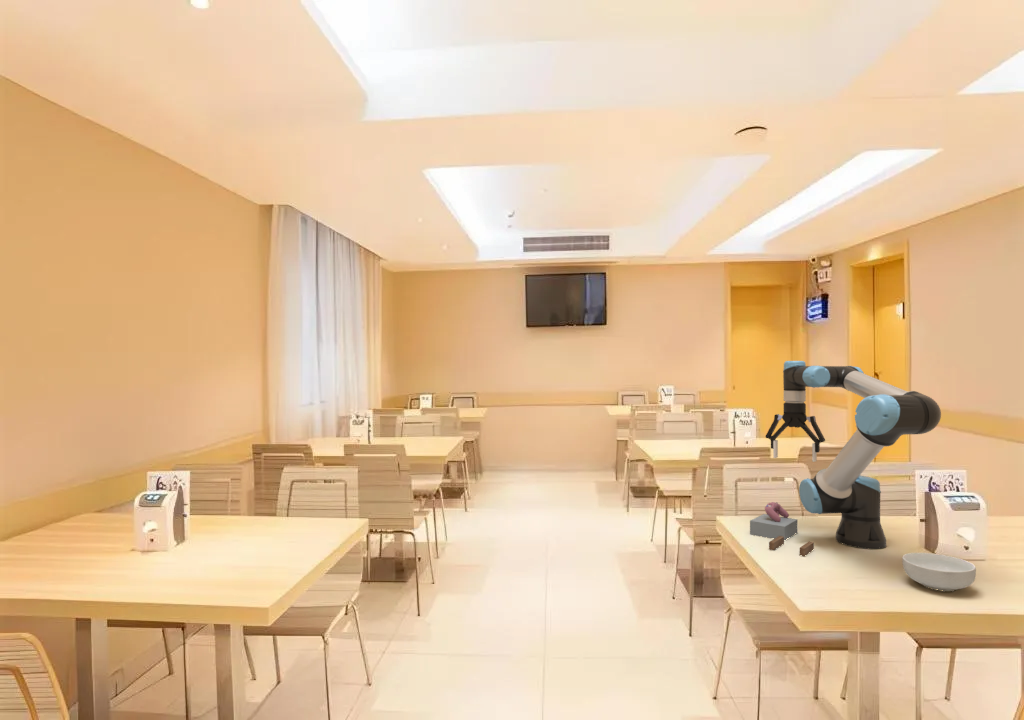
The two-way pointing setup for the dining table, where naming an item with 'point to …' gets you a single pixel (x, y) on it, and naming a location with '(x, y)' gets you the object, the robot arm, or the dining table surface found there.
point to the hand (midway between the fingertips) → (794, 459)
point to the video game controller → (775, 511)
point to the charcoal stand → (773, 527)
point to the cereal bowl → (939, 571)
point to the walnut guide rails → (780, 540)
